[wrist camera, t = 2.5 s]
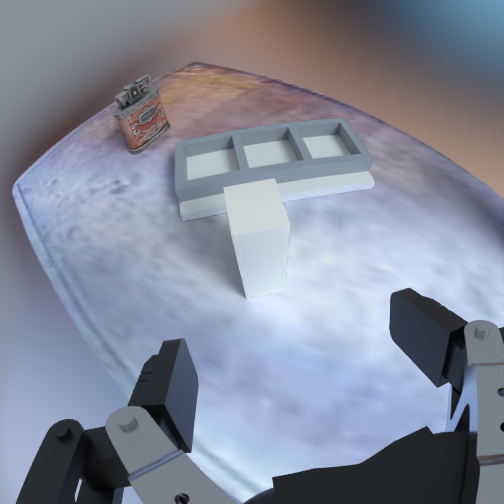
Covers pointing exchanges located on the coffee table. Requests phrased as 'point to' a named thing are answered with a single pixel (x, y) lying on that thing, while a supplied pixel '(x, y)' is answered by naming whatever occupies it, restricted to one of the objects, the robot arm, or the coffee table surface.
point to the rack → (270, 163)
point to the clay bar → (259, 235)
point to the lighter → (141, 115)
